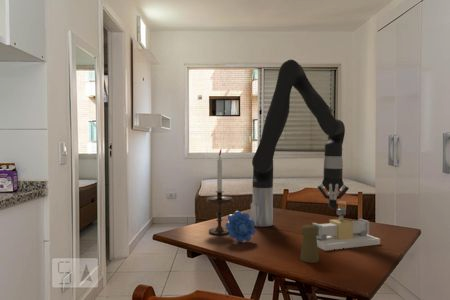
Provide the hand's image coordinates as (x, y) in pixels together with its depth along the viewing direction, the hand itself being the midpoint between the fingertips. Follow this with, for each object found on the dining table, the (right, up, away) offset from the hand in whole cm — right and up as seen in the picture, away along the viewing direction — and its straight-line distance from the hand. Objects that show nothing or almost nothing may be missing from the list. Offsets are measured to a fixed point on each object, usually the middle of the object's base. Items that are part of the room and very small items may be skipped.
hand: (332, 208), depth 146 cm
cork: (-17, -11, -33) cm, 39 cm away
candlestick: (-47, -10, 0) cm, 48 cm away
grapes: (-39, -11, -15) cm, 43 cm away
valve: (-1, -10, -14) cm, 17 cm away
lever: (+2, 0, -7) cm, 7 cm away
